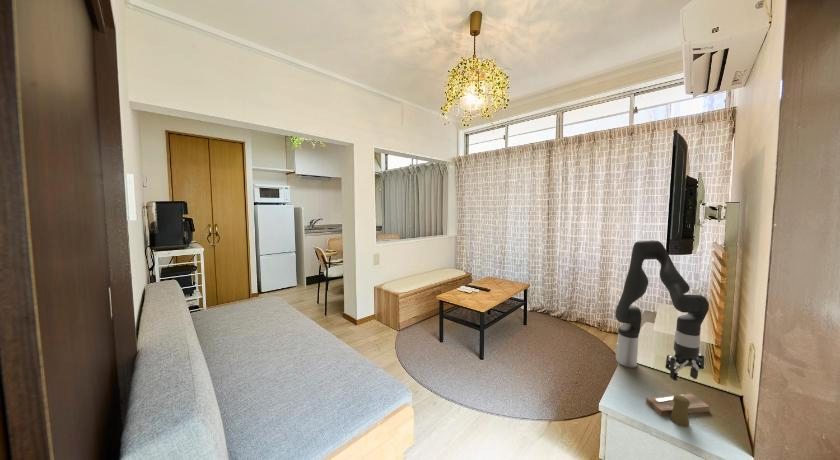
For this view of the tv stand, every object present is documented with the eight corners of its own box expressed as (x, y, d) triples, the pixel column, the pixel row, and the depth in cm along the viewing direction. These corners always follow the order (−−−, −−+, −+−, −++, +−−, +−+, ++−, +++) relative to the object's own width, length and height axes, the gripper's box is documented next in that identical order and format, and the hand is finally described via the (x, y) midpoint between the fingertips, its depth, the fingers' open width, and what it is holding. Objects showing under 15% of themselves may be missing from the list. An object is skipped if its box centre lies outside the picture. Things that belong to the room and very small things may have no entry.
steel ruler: (655, 399, 131) (655, 398, 131) (682, 395, 132) (682, 394, 132) (658, 402, 129) (659, 401, 129) (686, 398, 131) (686, 397, 131)
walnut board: (645, 402, 133) (646, 397, 132) (691, 398, 134) (691, 393, 133) (661, 415, 125) (661, 410, 124) (709, 411, 126) (709, 406, 125)
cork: (669, 421, 122) (671, 397, 120) (670, 413, 126) (672, 390, 124) (688, 429, 117) (691, 405, 116) (689, 420, 122) (692, 397, 120)
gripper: (694, 336, 121) (690, 371, 123) (661, 338, 120) (659, 374, 122) (713, 345, 113) (709, 383, 115) (678, 348, 112) (675, 386, 115)
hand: (683, 378), depth 119 cm, fingers open, 8 cm apart
